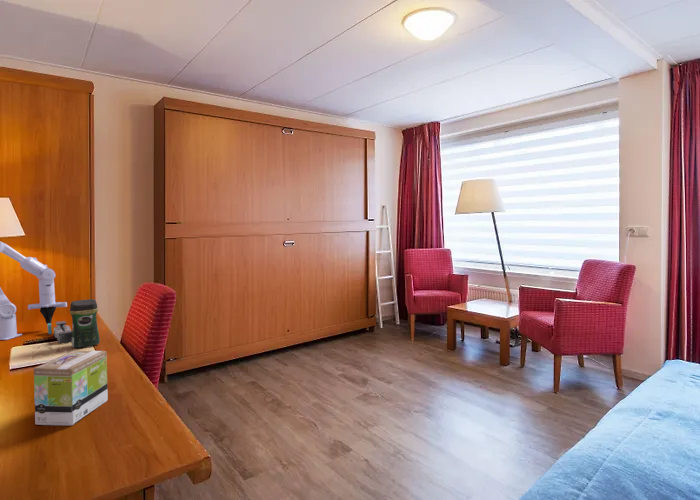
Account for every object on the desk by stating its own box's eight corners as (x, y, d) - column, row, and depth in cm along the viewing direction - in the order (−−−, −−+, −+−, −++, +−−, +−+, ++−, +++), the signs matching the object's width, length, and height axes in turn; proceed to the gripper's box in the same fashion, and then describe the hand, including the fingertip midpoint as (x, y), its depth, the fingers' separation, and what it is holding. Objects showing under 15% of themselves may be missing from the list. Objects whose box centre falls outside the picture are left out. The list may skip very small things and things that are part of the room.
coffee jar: (99, 341, 177) (96, 297, 176) (100, 345, 171) (98, 300, 169) (71, 345, 172) (69, 299, 170) (71, 350, 165) (69, 303, 164)
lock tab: (48, 332, 190) (47, 323, 189) (51, 331, 190) (50, 323, 190) (48, 334, 186) (48, 325, 186) (51, 333, 187) (51, 324, 187)
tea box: (74, 426, 105) (71, 368, 104) (34, 426, 106) (30, 368, 104) (109, 400, 120) (107, 349, 119) (74, 400, 121) (71, 349, 119)
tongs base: (57, 333, 189) (56, 323, 189) (68, 331, 192) (68, 322, 191) (60, 343, 173) (60, 333, 173) (73, 342, 176) (72, 332, 175)
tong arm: (53, 333, 188) (52, 322, 188) (65, 331, 191) (64, 320, 191) (59, 344, 173) (59, 332, 172) (72, 341, 176) (72, 330, 175)
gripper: (24, 296, 186) (26, 327, 188) (63, 294, 191) (64, 324, 192) (30, 293, 193) (32, 323, 194) (67, 291, 198) (69, 320, 199)
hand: (48, 323), depth 194 cm, fingers closed
